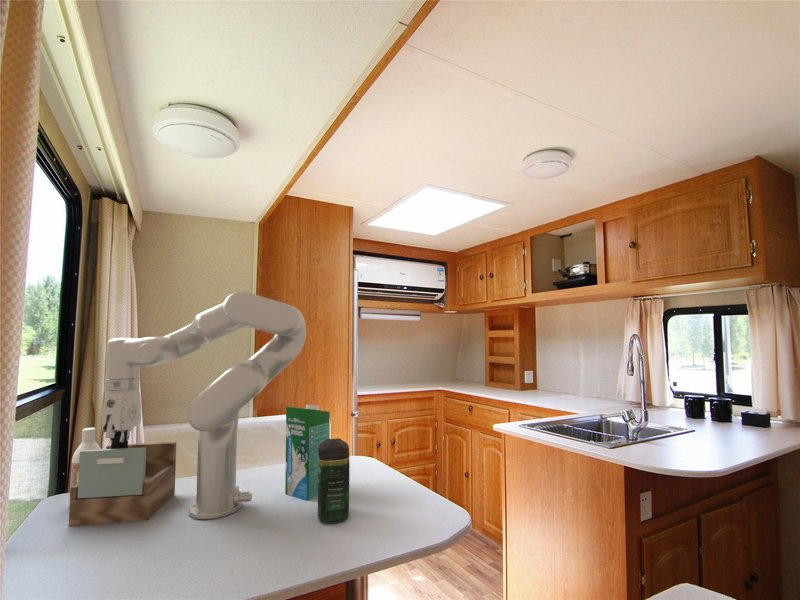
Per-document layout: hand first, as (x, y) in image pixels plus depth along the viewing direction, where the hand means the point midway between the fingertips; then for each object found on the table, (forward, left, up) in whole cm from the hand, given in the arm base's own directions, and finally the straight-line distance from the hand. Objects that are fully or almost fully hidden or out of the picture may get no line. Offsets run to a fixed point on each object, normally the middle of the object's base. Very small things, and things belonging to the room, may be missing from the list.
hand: (119, 456), depth 104 cm
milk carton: (-47, -8, -15) cm, 50 cm away
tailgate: (0, +4, -9) cm, 10 cm away
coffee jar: (-55, +9, -15) cm, 58 cm away
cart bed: (0, -4, -15) cm, 15 cm away
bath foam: (+14, -11, -15) cm, 24 cm away
